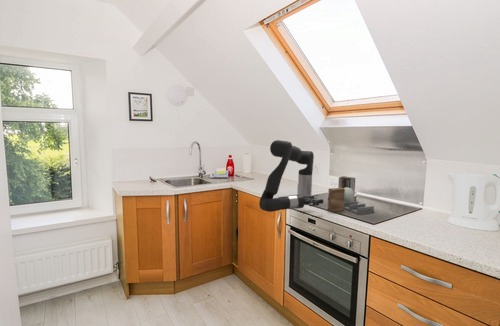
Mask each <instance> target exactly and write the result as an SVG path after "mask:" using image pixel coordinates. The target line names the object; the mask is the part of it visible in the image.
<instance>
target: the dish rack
mask: <svg viewBox="0 0 500 326" xmlns="http://www.w3.org/2000/svg"><path fill="white" fill-rule="evenodd" d="M374 209H375V206H374V205H370V206H367V205H366V203H359V201H358V200H354V201H353V202H344V210H345V211H347V212H351V213H353V214H356V215H366V214H372V213H373V214H374V213H375V210H374Z"/></svg>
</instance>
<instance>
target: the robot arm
mask: <svg viewBox="0 0 500 326" xmlns="http://www.w3.org/2000/svg"><path fill="white" fill-rule="evenodd" d="M269 148H270V149H269V150H270V153H271V155H272V156H273V157H276V158H281V160H280V161H279V164H278V165H277V166H276V167H275V168H274V169H273V170H272V171H271V172H270V174H269V176H268V177H267V180H266V185H265V187H264V191H263V192H262V195H261V196H260V198H259V203H258V205H259V208H260V209H261V211H263V212H264V211H265V212H268V213H270V212H272V213H273V212H276V211H277V212H278V211H280V210H281V211H282V210H283V211H284V210H294V209H295V210H297V209H303V208H304V206H305V205H306V206H309V207H315V206H316V207H317V206H320V204H324V199H315V196H314V195H312V194H313V193H312V190H313V189H312V188H313V170H314V169H313V168H314V157H315V155H314V152H313V151H312V150H311V151H310V150H302V149H300V148H299V147H298V146H296V145H293V143H292V142H290V141H288V140H287V141H286V140H280V139H277V140H274V141H272V143H271V144H270V147H269ZM289 161H290V162H295V163H297V164H299V165H306V167H304V168H302V169H301V168H300V169H299V170H298V177H297V178H298V179H297V180H298V181H297V182H298V183H297V192H296V193H297V194H292V195H286V196H279V197H275V198H274V196H275V195H277V194H278V192H279V189H280V185H281V180H282V178H283V175H284V173H285V170H286V168H287V165H288V163H289Z"/></svg>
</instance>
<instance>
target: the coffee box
mask: <svg viewBox="0 0 500 326" xmlns="http://www.w3.org/2000/svg"><path fill="white" fill-rule="evenodd" d="M337 186H338V187H337V188H346V187H348V188H351V189H352V190H353V192H354V196H355V193H356V191H355V190H356V177H353V176H352V177H351V176H340V177H338V185H337ZM353 201H355V198H354V199H353ZM353 201H352V202H353Z"/></svg>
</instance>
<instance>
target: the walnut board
mask: <svg viewBox="0 0 500 326" xmlns="http://www.w3.org/2000/svg"><path fill="white" fill-rule="evenodd" d="M344 194H345V189H344V188H338V187H332V188H328V194H327V195H328V196H327V211H329V212H331V213H332V212H340V211H344V210H345V209H344Z"/></svg>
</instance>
